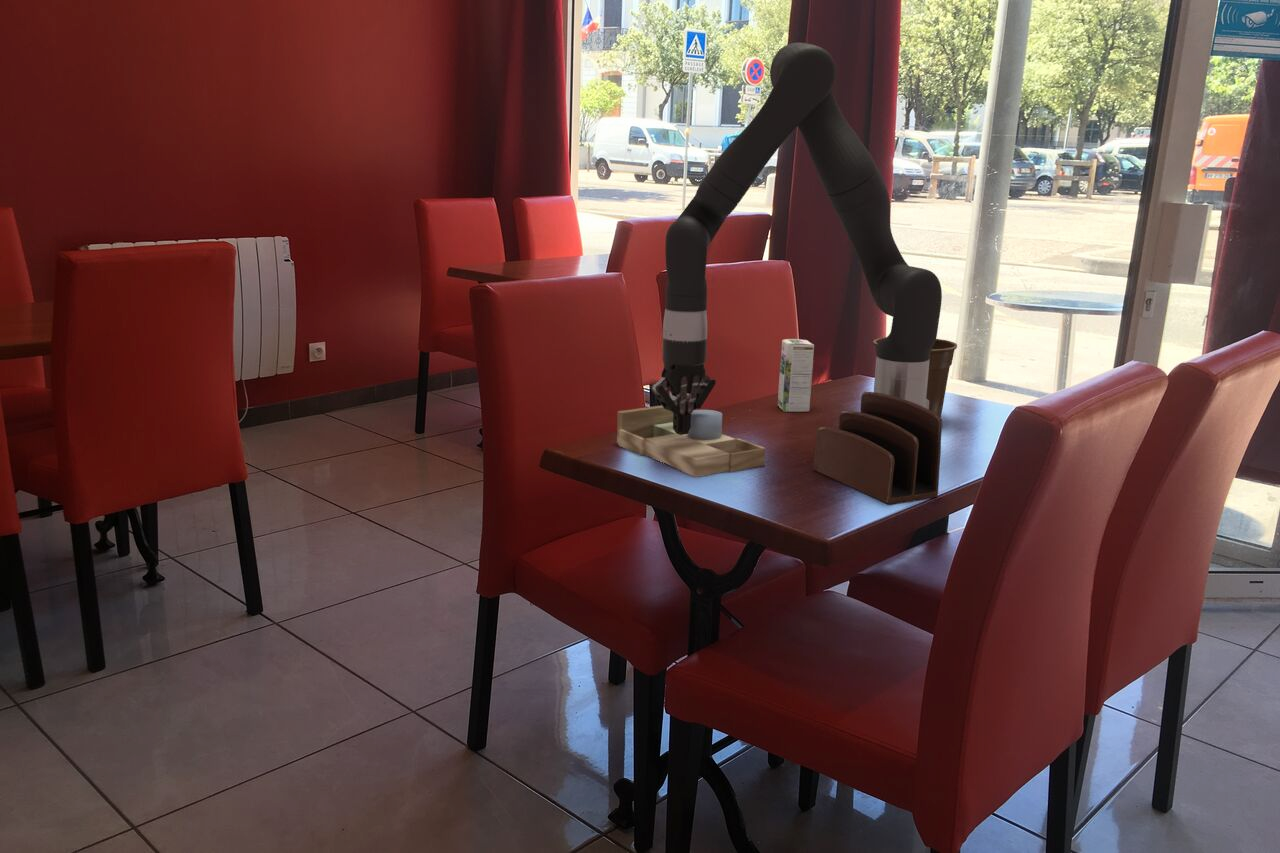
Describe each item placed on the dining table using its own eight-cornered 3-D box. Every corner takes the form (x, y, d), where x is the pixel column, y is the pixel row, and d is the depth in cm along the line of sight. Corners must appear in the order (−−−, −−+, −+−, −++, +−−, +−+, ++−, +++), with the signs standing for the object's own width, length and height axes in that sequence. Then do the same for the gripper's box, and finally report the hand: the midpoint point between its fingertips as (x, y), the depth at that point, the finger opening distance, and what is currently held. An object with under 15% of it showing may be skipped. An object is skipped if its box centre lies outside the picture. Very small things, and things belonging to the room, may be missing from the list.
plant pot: (852, 420, 210) (858, 341, 206) (890, 407, 222) (896, 332, 218) (927, 435, 200) (935, 352, 196) (962, 420, 212) (970, 342, 208)
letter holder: (860, 464, 180) (866, 385, 176) (938, 498, 162) (947, 411, 159) (812, 471, 175) (817, 389, 172) (888, 506, 158) (895, 416, 155)
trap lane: (765, 465, 178) (767, 431, 176) (694, 478, 169) (695, 443, 168) (681, 433, 197) (682, 402, 196) (614, 443, 189) (614, 411, 188)
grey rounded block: (707, 429, 189) (708, 408, 188) (728, 436, 184) (729, 415, 183) (681, 433, 185) (681, 412, 184) (701, 441, 181) (702, 419, 180)
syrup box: (776, 406, 221) (780, 338, 217) (803, 405, 221) (807, 338, 218) (783, 412, 215) (787, 343, 212) (810, 412, 216) (815, 343, 212)
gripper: (665, 342, 170) (663, 443, 175) (728, 336, 177) (724, 433, 182) (640, 335, 176) (638, 433, 181) (702, 329, 184) (699, 424, 188)
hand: (681, 433), depth 181 cm, fingers closed
